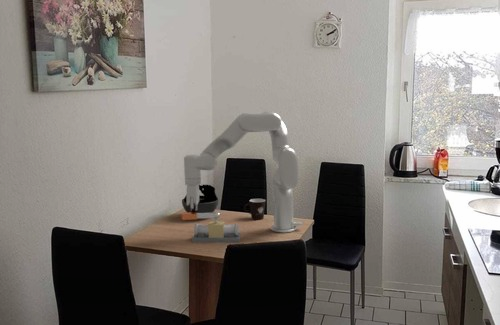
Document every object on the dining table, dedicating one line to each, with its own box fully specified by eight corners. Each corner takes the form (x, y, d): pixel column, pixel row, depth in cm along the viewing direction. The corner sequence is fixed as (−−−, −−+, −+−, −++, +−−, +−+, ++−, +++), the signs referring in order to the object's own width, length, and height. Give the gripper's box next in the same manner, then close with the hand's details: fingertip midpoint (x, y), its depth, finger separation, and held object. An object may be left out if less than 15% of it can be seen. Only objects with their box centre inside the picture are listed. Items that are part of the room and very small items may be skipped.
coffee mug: (265, 216, 295) (264, 198, 294) (266, 220, 287) (265, 202, 285) (243, 216, 295) (243, 199, 294) (244, 220, 286) (244, 202, 285)
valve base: (240, 235, 259) (240, 215, 257) (239, 241, 249) (239, 220, 247) (195, 235, 259) (194, 215, 258) (192, 242, 249) (191, 220, 248)
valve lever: (182, 217, 253) (182, 212, 253) (219, 217, 254) (219, 211, 254) (182, 219, 250) (181, 214, 250) (219, 218, 251) (219, 213, 251)
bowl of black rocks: (213, 222, 283) (212, 187, 281) (177, 221, 287) (176, 186, 285) (222, 213, 303) (222, 181, 300) (188, 212, 307) (187, 180, 304)
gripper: (187, 178, 261) (189, 214, 264) (182, 184, 246) (184, 222, 249) (202, 178, 261) (204, 214, 263) (198, 183, 246) (200, 222, 249)
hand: (194, 218), depth 256 cm, fingers closed
